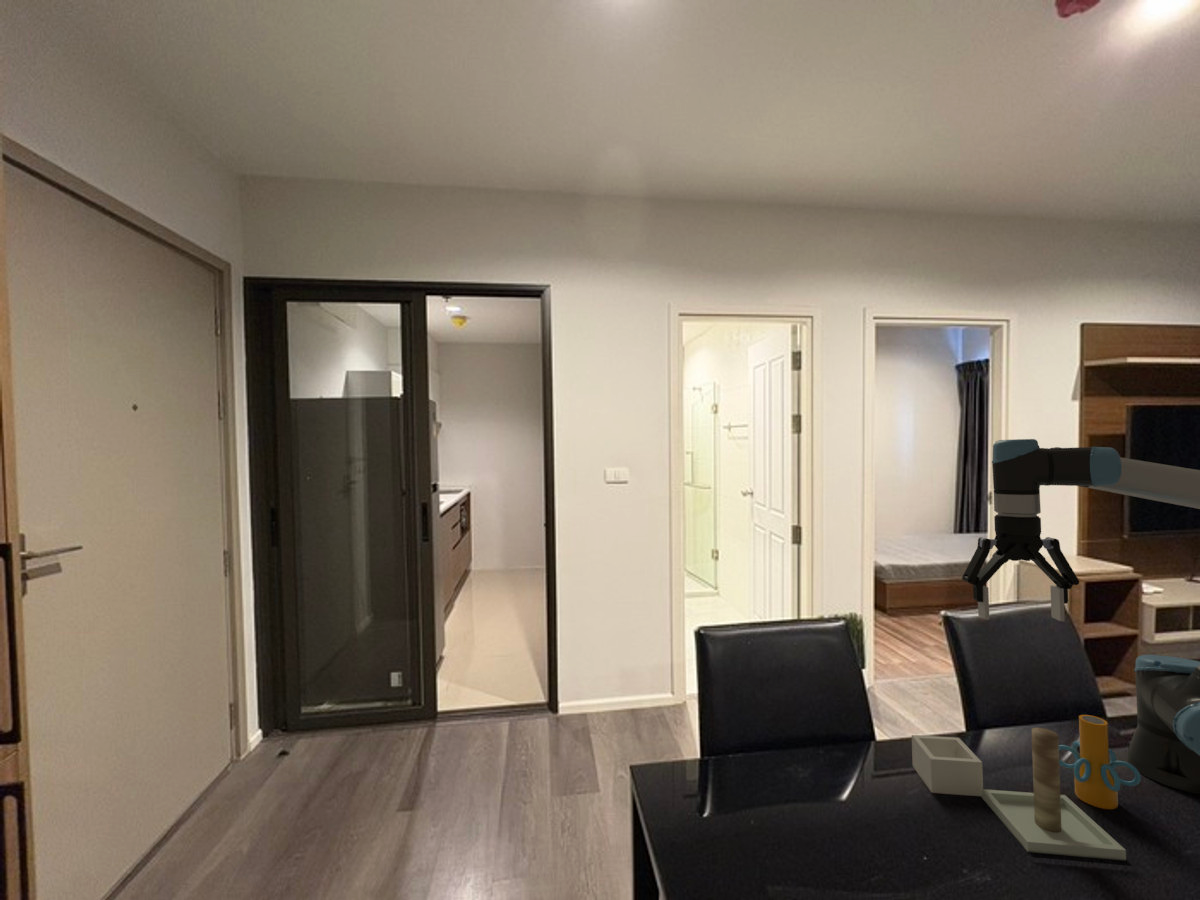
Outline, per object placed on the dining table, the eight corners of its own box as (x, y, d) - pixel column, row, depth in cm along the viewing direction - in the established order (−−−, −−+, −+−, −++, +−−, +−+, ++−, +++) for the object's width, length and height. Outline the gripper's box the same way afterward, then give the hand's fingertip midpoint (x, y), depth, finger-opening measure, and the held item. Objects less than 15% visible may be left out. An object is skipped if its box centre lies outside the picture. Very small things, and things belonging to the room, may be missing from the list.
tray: (1065, 807, 99) (1065, 795, 99) (1126, 864, 85) (1125, 850, 85) (981, 800, 101) (981, 789, 101) (1028, 855, 88) (1027, 841, 88)
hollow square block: (959, 771, 111) (958, 737, 111) (983, 799, 102) (982, 762, 102) (912, 768, 112) (911, 735, 112) (931, 795, 103) (930, 759, 103)
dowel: (1052, 819, 95) (1049, 728, 95) (1066, 833, 91) (1063, 738, 91) (1029, 817, 95) (1026, 727, 96) (1043, 831, 92) (1039, 737, 92)
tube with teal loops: (1155, 825, 94) (1152, 739, 94) (1086, 818, 96) (1083, 734, 96) (1105, 783, 106) (1102, 706, 106) (1044, 778, 108) (1042, 703, 108)
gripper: (1072, 512, 111) (1076, 614, 111) (942, 512, 116) (945, 611, 115) (1100, 516, 104) (1104, 625, 104) (959, 516, 108) (962, 622, 108)
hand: (1020, 618), depth 110 cm, fingers open, 13 cm apart
